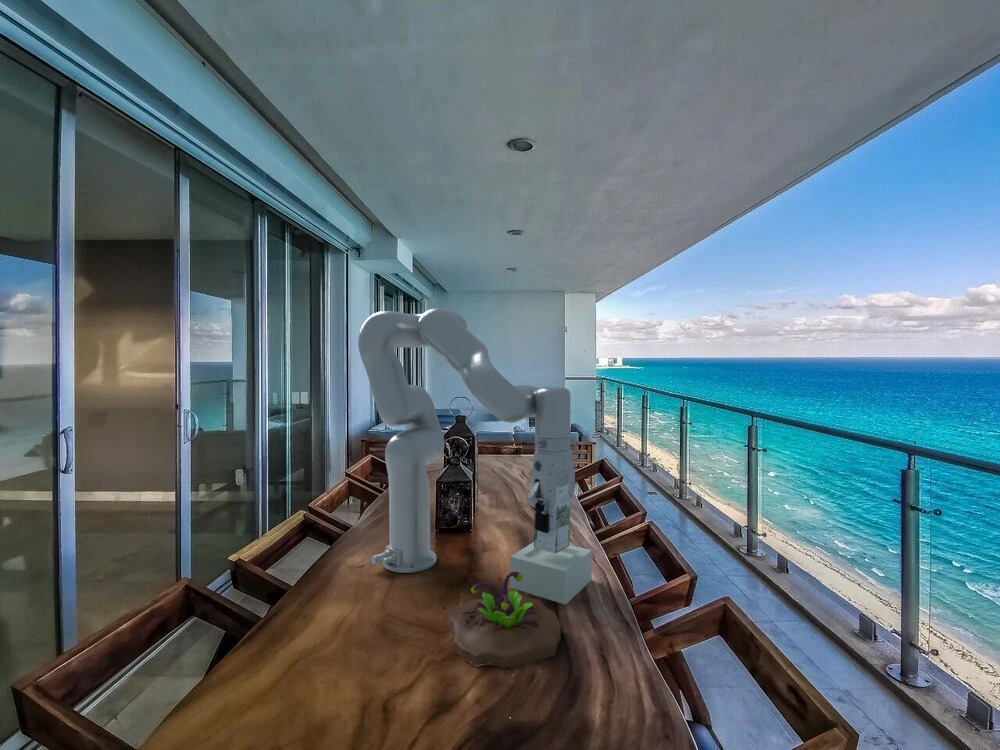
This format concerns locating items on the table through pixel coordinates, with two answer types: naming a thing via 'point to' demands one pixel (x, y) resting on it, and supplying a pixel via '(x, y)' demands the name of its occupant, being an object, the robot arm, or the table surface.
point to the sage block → (552, 572)
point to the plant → (504, 628)
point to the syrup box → (555, 523)
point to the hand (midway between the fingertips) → (552, 526)
